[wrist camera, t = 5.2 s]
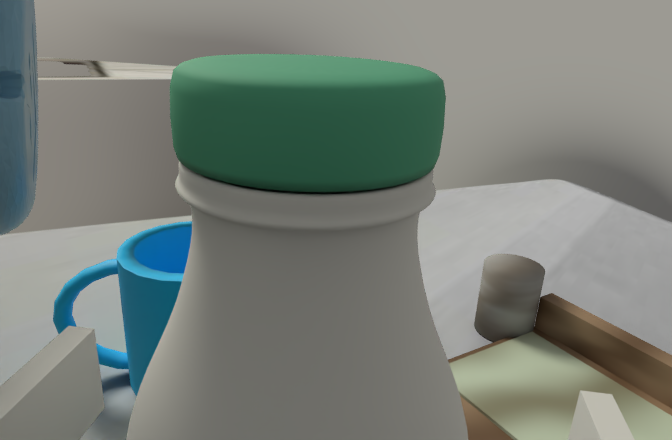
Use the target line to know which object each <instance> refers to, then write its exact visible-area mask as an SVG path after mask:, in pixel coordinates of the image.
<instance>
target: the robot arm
mask: <svg viewBox="0 0 672 440" xmlns="http://www.w3.org/2000/svg"><path fill="white" fill-rule="evenodd" d="M35 24H36V23H35V9H34V0H0V235H3V234H6V233H8V232H10V231H11V230H13V229H15V228H16V227H18V226H19V225H20V224H22V223H23V221H24V220H25V219H26V217H28V215H29V213H30V211H31V209H32V207H33V204H34V200H35V192H36V191H35V190H36V179H37V162H38V161H37V160H38V74H37V45H36V44H37V42H36V25H35ZM104 408H105V405H104V398H103V390H102V383H101V375H100V368H99V360H98V353H97V346H96V338H95V331H94V329H91V328H83V327H75V326H68V327H67V328H66V329H65V330H64V331H62V332H61V333H60V334H59V335H58V336H57V337H56V338H54V339H53V340H52V341H51V342H50V343H49V344H48V345H47V346H45V347H44V348H43V349H42V350H41V351H40V352H39V353H38V354H36V355H35V356H34V357H33V358H32V359H31V360H30V361H29V362H27V363H26V364H25V365H24V366H23V367H22V368H21V369H19V370H18V371H17V372H16V373H15V374H14V375H13V376H12V377H10V378H9V379H8V380H7V381H6V382H5V383H4V384H3V385H1V386H0V440H80V438H81V437H82V436H83V435H84V433H85V432H86V431H87V430H88V428H89V427H90V426H91V425H92V423H93V422H94V421H95V420H96V418H97V417H98V416H99V415H100V413H101V412H102V411H103V410H104ZM568 440H635V439H634V437H633V435H632V433H631V431H630V429H629V427H628V425H627V423H626V421H625V419H624V417H623V415H622V413H621V411H620V409H619V407H618V405H617V403H616V401H615V399H614V397H613V395H612V394H605V393H597V392H590V391H582V390H580V393H579V397H578V401H577V405H576V409H575V413H574V417H573V421H572V425H571V429H570V433H569V437H568Z"/></svg>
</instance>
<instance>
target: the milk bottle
mask: <svg viewBox="0 0 672 440" xmlns="http://www.w3.org/2000/svg"><path fill="white" fill-rule="evenodd" d="M445 100H446V96H445V90H444V83H443V80H442V79H441V78H440V77H439V76H438V75H437V74H435V73H433V72H431V71H429V70H426V69H423V68H421V67H417V66H412V65H408V64H401V63H394V62H388V61H380V60H371V59H361V58H349V57H334V56H316V55H295V54H289V55H286V54H242V55H241V54H239V55H218V56H207V57H201V58H196V59H192V60H189V61H186V62H183V63H181V64H179V65H178V66H177V67H176V68H175V69H174V70H173V74H172V79H171V83H170V118H171V128H172V137H173V146H174V149H175V152H176V155H177V158H178V159H179V175H178V177H177V179H176V182H175V187H176V190H177V192H178V195H179V196H180V197H181V198H182V199H183V200H184V201H185V202H187V203H188V204H189V205H190V206H191V210H192V236H191V243H190V249H189V254H188V259H187V263H186V267H185V271H184V275H183V280H182V284H181V287H180V290H179V294H178V297H177V300H176V303H175V306H174V308H173V311H172V313H171V316H170V319H169V321H168V324H167V326H166V328H165V330H164V333H163V335H162V337H161V339H160V342H159V344H158V346H157V348H156V350H155V352H154V355H153V357H152V359H151V361H150V363H149V366H148V368H147V370H146V373H145V375H144V378H143V380H142V383H141V385H140V388H139V391H138V394H137V397H136V400H135V404H134V407H133V411H132V414H131V418H130V421H129V426H128V432H127V438H126V440H468V432H467V425H466V421H465V416H464V411H463V407H462V402H461V398H460V394H459V391H458V388H457V385H456V382H455V379H454V376H453V373H452V370H451V367H450V365H449V362H448V359H447V357H446V354H445V352H444V349H443V346H442V344H441V341H440V339H439V336H438V333H437V331H436V328H435V325H434V322H433V319H432V315H431V312H430V309H429V305H428V301H427V297H426V293H425V289H424V284H423V279H422V273H421V268H420V261H419V255H418V243H417V227H418V218H419V213H420V212H421V211H422V210H424V209H425V208H426V207H427V206H429V205H430V204H431V202H432V201H433V199H434V197H435V193H436V190H435V187H434V184H433V182H432V180H433V168H434V166H435V164H436V162H437V159H438V157H439V153H440V148H441V141H442V135H443V129H444V115H445V114H444V113H445Z"/></svg>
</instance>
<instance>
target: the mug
mask: <svg viewBox="0 0 672 440" xmlns="http://www.w3.org/2000/svg"><path fill="white" fill-rule="evenodd" d="M191 236H192V221H190V222H178V223H172V224H167V225H162V226H157V227H154V228H151V229H148V230H145V231H142V232H140V233H138V234H136V235H134V236H132V237H131V238H129V239H127V240H126V241H125V242H124V243H123V244H122V245H121V246H120V247H119V248H118V251H117V259H111V260H107V261H104V262H102V263H99V264H96V265H94V266H91V267H89V268H86V269H84V270H82V271H81V272H80V273H79V274H77V275H76V276H75V277H73V278H72V279H71V280H69V281H68V282H67V283H66V284H65V285H64V287H63V289H62V290H61V292H60V293H59V295H58V297H57V298H56V300H55V303H54V315H53V322H54V324H55V326H56V329H57V331H58V334H60V333H61V332H62V331H64V330H65V329H66V328H67V327H68V326H75V327H77V326H76V324H75V321H74V319H73V316H72V310H73V302H74V301H75V299H76V297H77V296H78V294H79V292H80V291H81V290H83V289H84V288H85V287H87V286H88V285H89V284H91V283H92V282H93V281H96V280H99V279H101V278H104V277H106V276H109V275H113V274H118V277H119V286H120V295H121V304H122V313H123V322H124V330H125V339H126V348H127V353H123V352H119V351H115V350H111V349H108V348H104V347H102V346H100V345H98V344H97V343H96V346H97V353H98V360H99V364H101V365H105V366H109V367H113V368H117V369H129V375H130V384H131V387H132V389H133V391H134V393H135V395H136V396H137V394H138V391H139V388H140V385H141V383H142V380H143V378H144V375H145V373H146V370H147V368H148V366H149V363H150V361H151V359H152V357H153V355H154V352H155V350H156V348H157V346H158V344H159V342H160V339H161V337H162V335H163V333H164V330H165V328H166V326H167V324H168V321H169V319H170V316H171V313H172V311H173V308H174V306H175V303H176V300H177V297H178V294H179V290H180V287H181V284H182V280H183V275H184V271H185V267H186V263H187V259H188V254H189V249H190V243H191Z"/></svg>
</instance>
